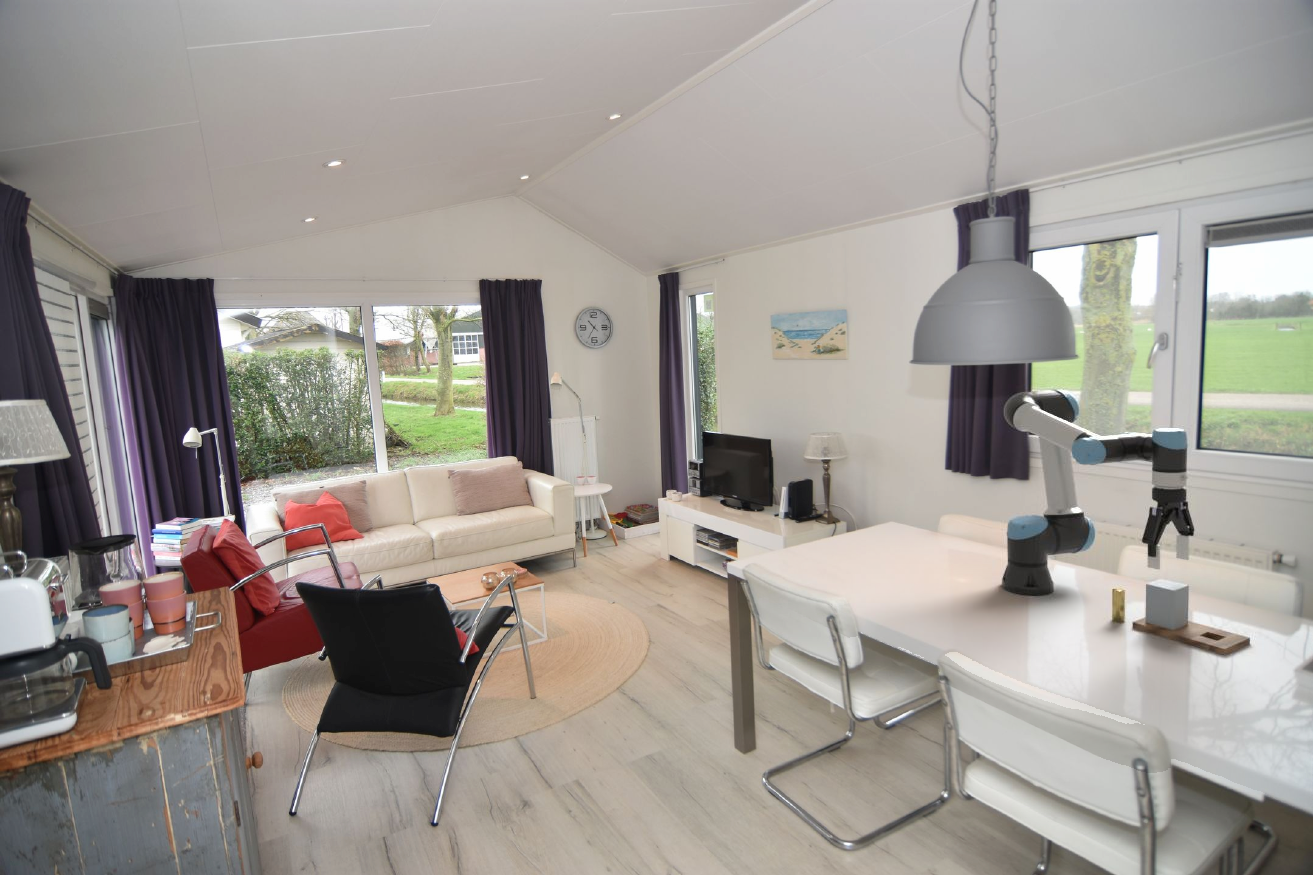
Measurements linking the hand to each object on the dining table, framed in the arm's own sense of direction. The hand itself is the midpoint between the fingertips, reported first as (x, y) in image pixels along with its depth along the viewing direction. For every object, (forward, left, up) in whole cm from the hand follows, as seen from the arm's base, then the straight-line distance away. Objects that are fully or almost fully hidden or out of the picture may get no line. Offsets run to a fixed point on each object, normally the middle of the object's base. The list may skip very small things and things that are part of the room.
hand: (1168, 563), depth 191 cm
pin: (-11, -4, -19) cm, 22 cm away
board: (+5, 0, -19) cm, 19 cm away
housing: (0, 0, -17) cm, 17 cm away
